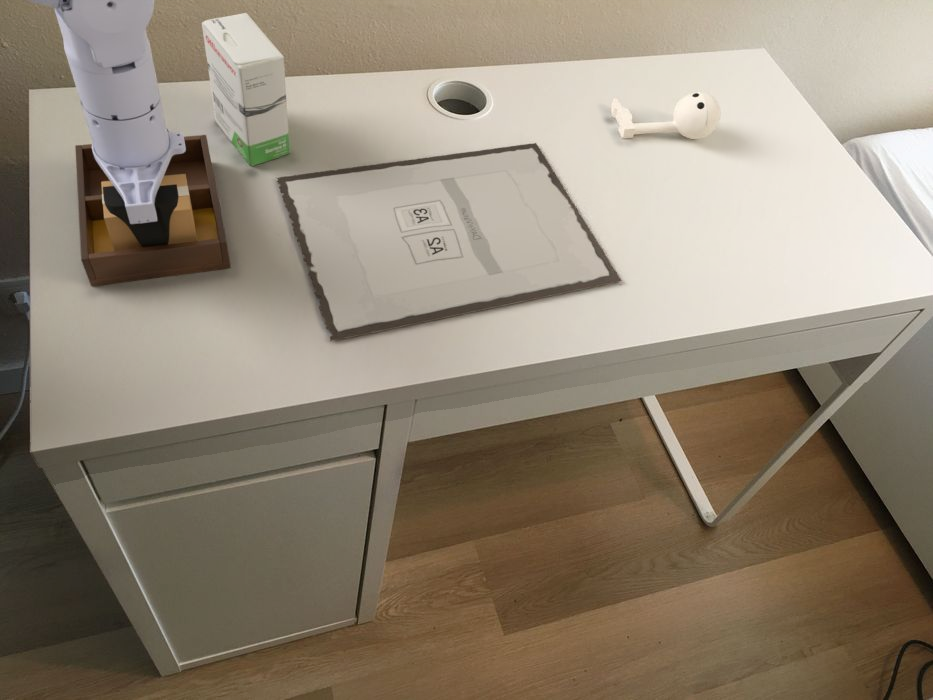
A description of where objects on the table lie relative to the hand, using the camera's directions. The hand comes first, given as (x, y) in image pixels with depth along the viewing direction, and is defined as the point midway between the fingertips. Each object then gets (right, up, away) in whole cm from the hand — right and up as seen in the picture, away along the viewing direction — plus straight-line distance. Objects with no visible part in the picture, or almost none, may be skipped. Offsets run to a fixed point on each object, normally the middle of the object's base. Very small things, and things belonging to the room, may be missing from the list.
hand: (153, 225), depth 69 cm
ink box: (+5, +11, +13) cm, 18 cm away
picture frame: (+26, +1, +9) cm, 28 cm away
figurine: (+52, +16, +25) cm, 60 cm away
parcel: (0, -1, +1) cm, 1 cm away
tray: (-1, +1, +4) cm, 5 cm away
